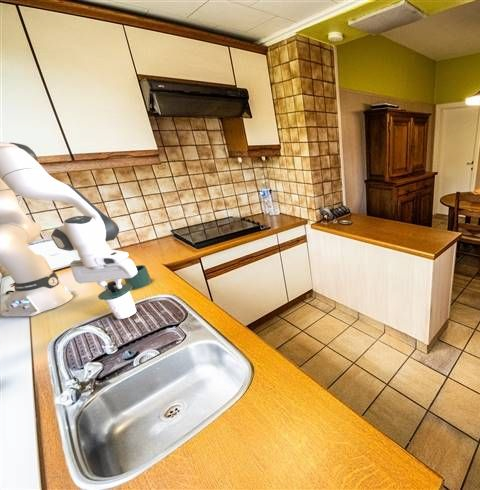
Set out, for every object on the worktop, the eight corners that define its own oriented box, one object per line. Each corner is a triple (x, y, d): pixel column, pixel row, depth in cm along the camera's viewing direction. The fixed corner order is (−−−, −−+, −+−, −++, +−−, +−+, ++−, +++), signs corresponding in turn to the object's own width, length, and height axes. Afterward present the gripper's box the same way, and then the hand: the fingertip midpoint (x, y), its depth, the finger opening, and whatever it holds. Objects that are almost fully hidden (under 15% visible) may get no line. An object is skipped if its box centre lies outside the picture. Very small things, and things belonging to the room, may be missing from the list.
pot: (123, 290, 130) (116, 275, 127) (136, 280, 139) (129, 266, 135) (144, 288, 131) (137, 273, 128) (155, 278, 140) (149, 264, 136)
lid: (92, 302, 102) (85, 291, 100) (112, 288, 112) (106, 277, 110) (121, 299, 103) (115, 287, 101) (138, 285, 113) (133, 274, 111)
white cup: (124, 321, 107) (113, 300, 103) (109, 319, 109) (98, 299, 105) (143, 309, 114) (133, 289, 110) (128, 307, 116) (118, 288, 112)
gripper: (60, 264, 97) (78, 296, 102) (121, 258, 99) (135, 289, 105) (75, 257, 103) (92, 287, 108) (132, 251, 105) (145, 281, 110)
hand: (114, 288), depth 106 cm, fingers closed on lid, 2 cm apart
